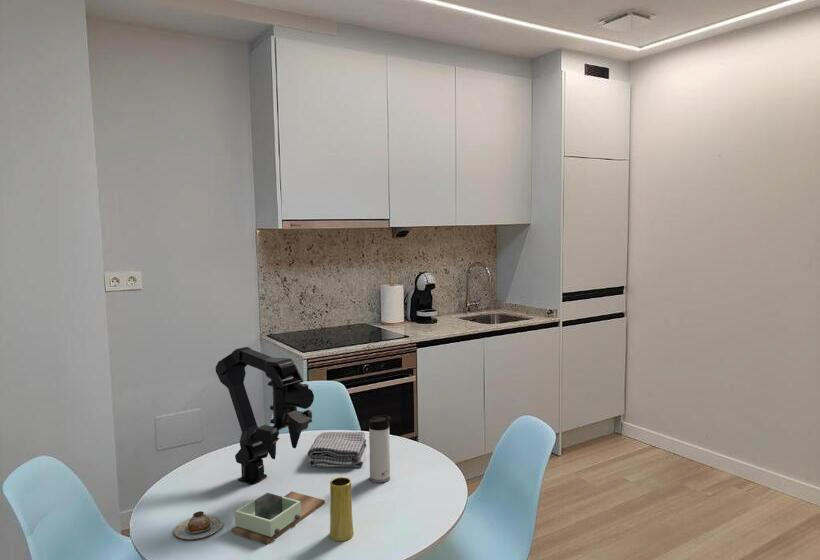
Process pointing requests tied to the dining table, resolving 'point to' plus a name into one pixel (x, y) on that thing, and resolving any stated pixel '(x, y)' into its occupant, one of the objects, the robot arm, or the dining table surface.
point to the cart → (264, 526)
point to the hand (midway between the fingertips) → (284, 453)
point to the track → (307, 508)
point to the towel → (338, 450)
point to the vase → (341, 509)
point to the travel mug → (379, 448)
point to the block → (268, 506)
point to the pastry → (198, 525)
